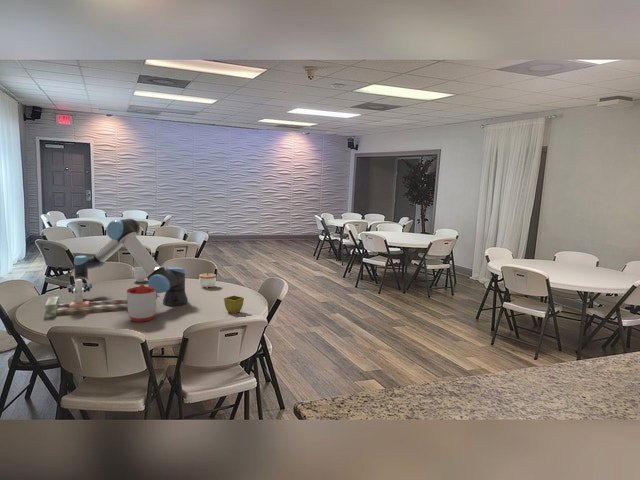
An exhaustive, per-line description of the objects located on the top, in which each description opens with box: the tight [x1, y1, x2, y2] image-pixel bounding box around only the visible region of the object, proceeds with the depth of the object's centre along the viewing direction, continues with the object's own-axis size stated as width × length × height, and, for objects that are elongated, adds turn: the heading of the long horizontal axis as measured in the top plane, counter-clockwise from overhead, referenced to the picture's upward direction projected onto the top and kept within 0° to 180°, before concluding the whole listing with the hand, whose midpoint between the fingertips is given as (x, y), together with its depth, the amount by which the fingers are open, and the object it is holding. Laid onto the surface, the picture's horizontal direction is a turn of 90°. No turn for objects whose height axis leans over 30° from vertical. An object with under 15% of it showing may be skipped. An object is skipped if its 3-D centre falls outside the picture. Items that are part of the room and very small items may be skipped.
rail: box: [44, 296, 128, 318], centre depth 256 cm, size 48×18×7 cm, turn 116°
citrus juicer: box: [126, 284, 161, 323], centre depth 242 cm, size 16×17×20 cm
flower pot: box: [223, 295, 245, 314], centre depth 262 cm, size 9×9×9 cm
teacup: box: [131, 266, 147, 283], centre depth 330 cm, size 12×15×10 cm
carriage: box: [68, 279, 90, 308], centre depth 252 cm, size 10×8×16 cm
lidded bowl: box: [198, 272, 217, 288], centre depth 321 cm, size 13×13×11 cm
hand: (78, 292), depth 247 cm, fingers closed on carriage, 4 cm apart
